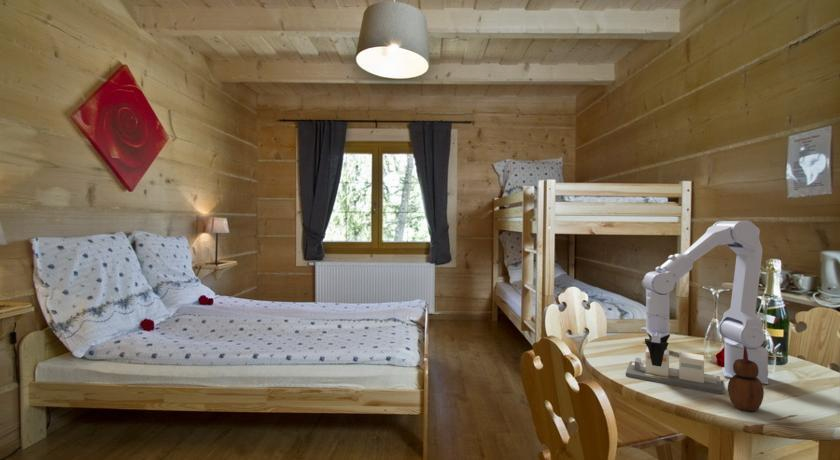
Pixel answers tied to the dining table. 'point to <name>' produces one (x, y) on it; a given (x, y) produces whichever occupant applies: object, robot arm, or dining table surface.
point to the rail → (680, 374)
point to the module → (657, 369)
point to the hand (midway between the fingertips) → (657, 361)
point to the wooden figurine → (745, 385)
